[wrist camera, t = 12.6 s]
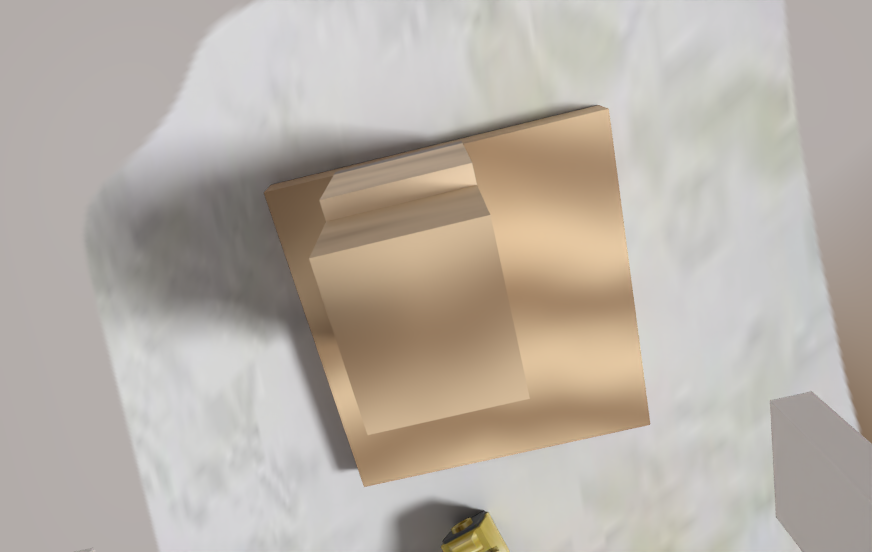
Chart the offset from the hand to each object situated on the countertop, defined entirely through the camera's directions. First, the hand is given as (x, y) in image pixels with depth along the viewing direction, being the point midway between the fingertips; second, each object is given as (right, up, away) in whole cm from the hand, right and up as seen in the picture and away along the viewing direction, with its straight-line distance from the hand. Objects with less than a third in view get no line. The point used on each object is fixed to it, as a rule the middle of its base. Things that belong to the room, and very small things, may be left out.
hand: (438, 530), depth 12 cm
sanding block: (-1, +6, +16) cm, 17 cm away
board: (+2, +3, +19) cm, 19 cm away
